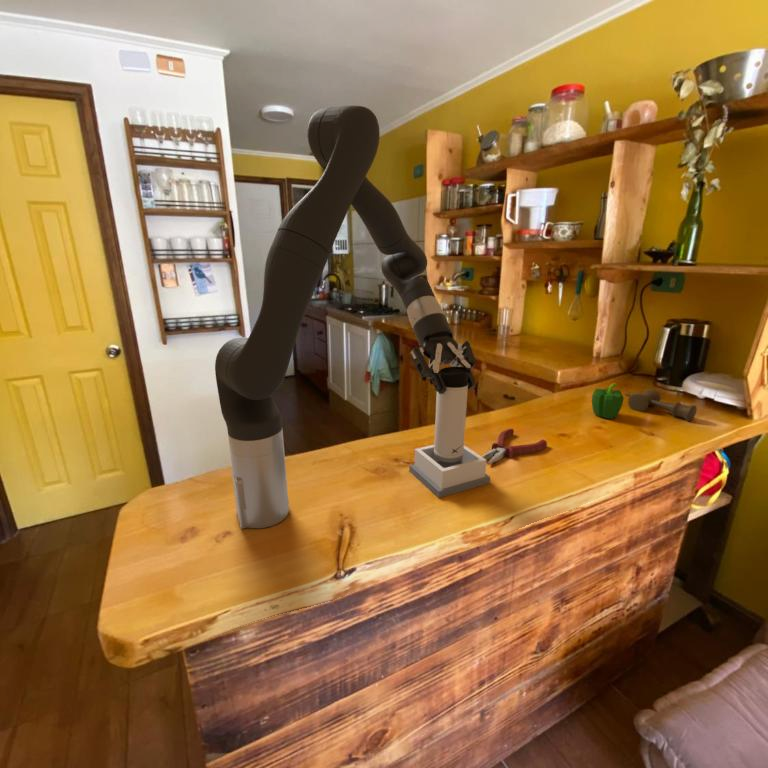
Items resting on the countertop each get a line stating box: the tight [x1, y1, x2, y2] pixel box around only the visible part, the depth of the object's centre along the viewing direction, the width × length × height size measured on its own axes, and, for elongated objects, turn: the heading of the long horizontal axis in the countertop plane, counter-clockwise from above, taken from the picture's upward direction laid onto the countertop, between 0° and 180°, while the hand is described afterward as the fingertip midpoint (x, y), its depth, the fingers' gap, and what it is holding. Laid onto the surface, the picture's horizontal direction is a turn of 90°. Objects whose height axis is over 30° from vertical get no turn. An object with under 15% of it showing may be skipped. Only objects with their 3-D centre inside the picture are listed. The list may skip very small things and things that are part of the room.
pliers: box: [480, 428, 548, 465], centre depth 103 cm, size 12×20×3 cm, turn 132°
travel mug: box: [433, 366, 472, 463], centre depth 87 cm, size 6×7×20 cm
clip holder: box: [408, 444, 491, 499], centre depth 90 cm, size 13×12×6 cm
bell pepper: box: [591, 382, 624, 420], centre depth 124 cm, size 8×8×10 cm
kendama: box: [623, 388, 698, 422], centre depth 128 cm, size 6×10×20 cm
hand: (457, 389), depth 84 cm, fingers closed on travel mug, 6 cm apart
